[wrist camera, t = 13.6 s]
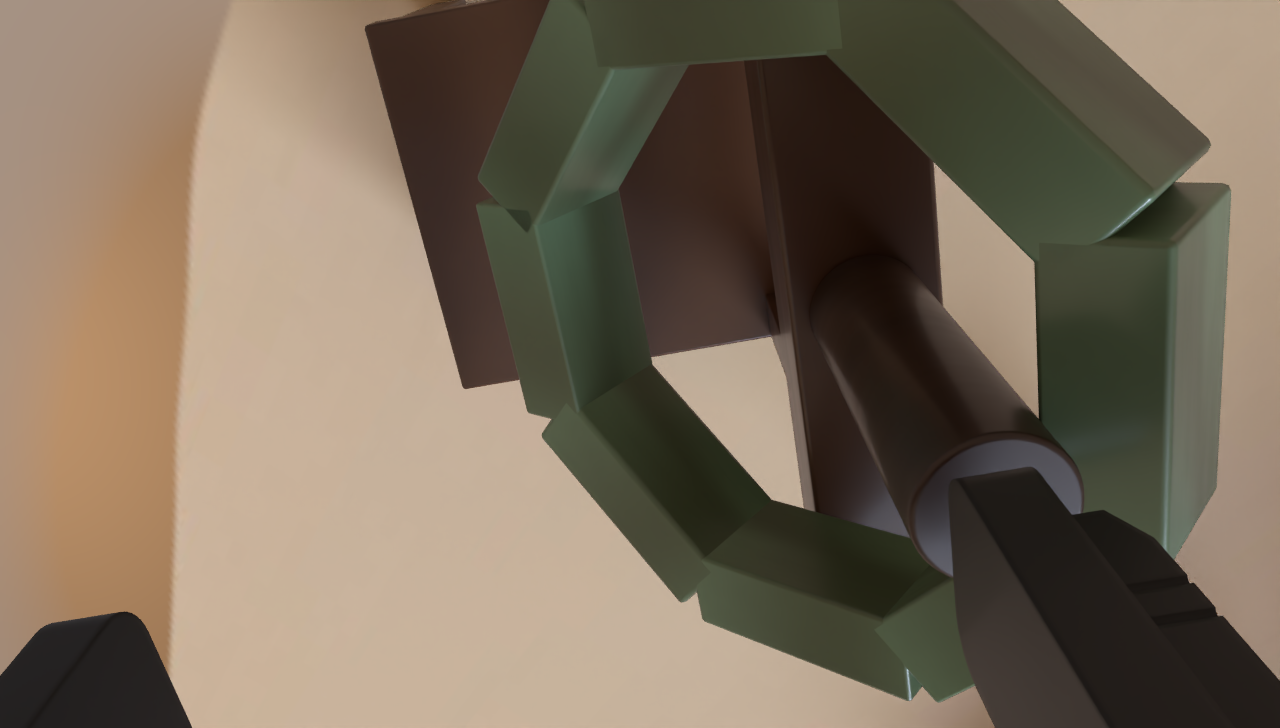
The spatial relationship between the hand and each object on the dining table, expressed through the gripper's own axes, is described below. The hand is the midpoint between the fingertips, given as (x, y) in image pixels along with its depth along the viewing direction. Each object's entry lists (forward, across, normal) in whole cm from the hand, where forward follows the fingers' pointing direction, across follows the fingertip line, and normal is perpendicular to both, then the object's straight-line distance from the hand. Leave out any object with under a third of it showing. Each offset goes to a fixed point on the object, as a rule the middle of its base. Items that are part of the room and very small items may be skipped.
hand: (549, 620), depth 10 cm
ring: (+6, -4, 0) cm, 7 cm away
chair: (+27, 0, 0) cm, 27 cm away
